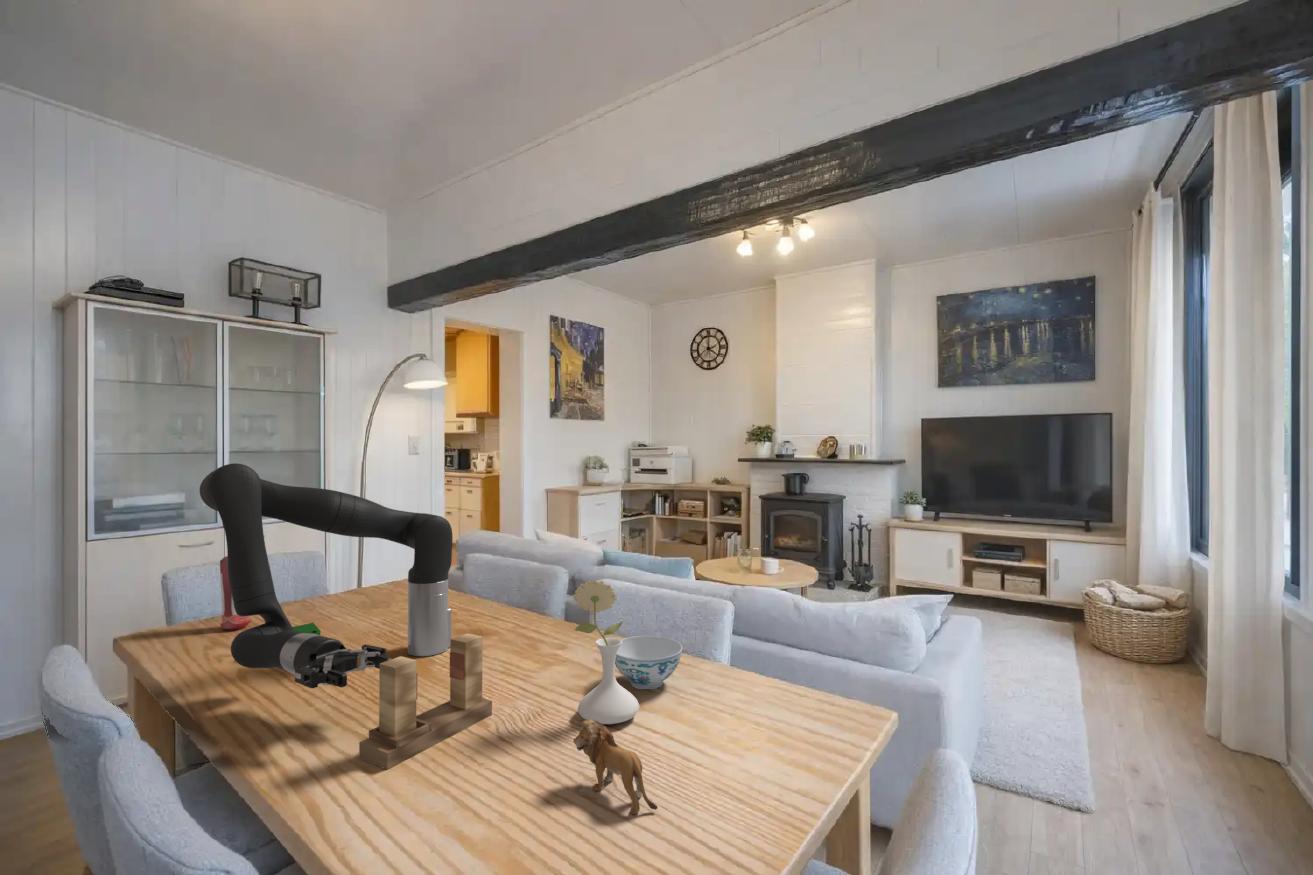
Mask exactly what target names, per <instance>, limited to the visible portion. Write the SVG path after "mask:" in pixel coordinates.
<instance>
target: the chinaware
mask: <svg viewBox="0 0 1313 875" xmlns="http://www.w3.org/2000/svg"><path fill="white" fill-rule="evenodd" d="M620 640H622V644H621V645H620V646H619V648H618V651H617V654H616V659H615V668H617V670H618V671H619V673H620V674H621V675H622V676H623V677H624V678H625V679H626V680H628V681H629V682H630V684H631V687H633V688H634V687H635V689H638V690H642V689H651V690H656V689H658V687H659V688H661V687H662V686H663V684H664V683H663V682H664V681H665V680H666V679H668V678H670V676H671V675H673V673H674V672H675V671H676V669H677V668H678V665H679V663H680V660H681V658H682V652H683V645H682V644H681V643H680V642H679V641H677V640H675V639H674V638H673V639H672V638H669V637H667V636H666V637H664V636H658V635H639V636H638V635H637V636H636V635H635V636H629V637H625V638H622V639H620ZM661 685H662V686H661Z"/></svg>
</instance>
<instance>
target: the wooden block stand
mask: <svg viewBox="0 0 1313 875" xmlns="http://www.w3.org/2000/svg"><path fill="white" fill-rule="evenodd" d="M449 649H450V650H449V651H450V652H449V678H450V679H449V680H450V682H449V683H450V684H449V686H450V687H449V688H450V689H449V691H450V692H449V700H448V701H446V702H444V703H441V704H440V705H438V706H435V707H433V708H431V709H428V710H426V711H424V712H422V713H420V714H416V729H415V730H413V731H411V732H409V733H407V734H405V735H403V736H401V737H399V738H395V737H392V736H389V735H386V734H384V733H381V732H379V725H378V726H376V727H374V728H372V729H370V730H368V737H367V738H365V739H364V740H361V741H359V742H358V744H359V745H358V746H359V749H358V750H359V752H358V753H359V754H358V755H359V756H358V757H359V759H361V760H363V761H366V762H368V763H370V764H373V765H376V766H378V767H380V768H383V769H384V770H389V769H391V768H394V767H395V766H398V765H400V764H401V763H402V762H404V761H407V760H409V759H411V758H412V757H414V756H417V755H418V754H420V753H422V752H424V751H426V750H428V749H429V748H431V747H433V746H435V745H437V744H439V743H441V742H443V741H444V740H446V739H449V738H450V737H452V736H454V735H456V734H458V733H460V732H462V731H464V730H465V729H468V728H469V727H471V726H473V725H474V724H477V723H479V722H481V721H482V720H484V719H486V718H488V717H490V716H491V715H493V700H490V699H486V698H483V635H482V636H481V635H477V634H472V633H467V632H466V633H464V634H461V635H458V636H455V637H453V638H452V637H451V639H450V647H449Z"/></svg>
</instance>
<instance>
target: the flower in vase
mask: <svg viewBox="0 0 1313 875" xmlns="http://www.w3.org/2000/svg"><path fill="white" fill-rule="evenodd" d="M572 597H573V599H574V602H575V603H576V604H577V606H578V607H579V608H580V609H582V610H584V611H588V610H589V611H588V612H590V613H593V622H594V624H592V623H590V622H587V621H586V622H581V623H579V624H578V625H577V626H576V628H575V629H574V631H576V632H582V633H585V634H592V633H593V632H595V630H597V632H598V633H599V635H600V637H602V638H598V639H597V640H595V642H594V643H595V645H596V646H597V648H598V650H599V653H600V655H601V661H602V662H601V663H602V675H601V676H602V677H601V680H600V682H599V683H598V685H596V687H595V688H593V689H592V690H590V691H589V692H588V693H587V694H586V695H585V696H583V698H582V699H581V700H580V701H579V704H578V707H577V712H578V714H579V715H580V716H581V718H582V719H584V721H586V720H590V719H592V720H595V721H598V722H599V723H601V724H603V725H615V724H620V723H623V722H627V721H629V720H631V719H632V718H635V716H636V715H637V713H638V712H639V711H640V704H639V701H638V699H637V698H636V697H635V696H634V695H633V693H631V692H630V691H628V690H627V689H626V688H624V686H622V685H620V684H619V683H618V681H617V678H616V672H615V671H616V670H615V668H616V665H615V659H616V654H617V651H618V648H619V646H620V645H621V644H622V640H621V639H620V638H618V637H605V636H608V635H612V634H614V633H615V632H617V631H619V629H620V628H621V627H622V624H623V621H621V622H619V623H616V624H612V625H610V626H608V627H607V628H606V630H605V631H604V633H602V631H601V630H600V628H599V626H598V625H597V620H596V616H597V613H601V612H605V611H607V610H609V609H612V608H613V605H614V604H615V603H616V602H615V601H617V599H618V598H617V594H616V593H615V589H614V588H613V587H612V585H611V584H605V583H604V580H598V581H597V580H596V579H593V580H592V581H590V580H586V581H585V583H580V584H579V585H578V586H577V587H576V589H575V591H574V594H573V595H572Z"/></svg>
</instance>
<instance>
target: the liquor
mask: <svg viewBox="0 0 1313 875" xmlns="http://www.w3.org/2000/svg"><path fill="white" fill-rule="evenodd" d="M219 569H220V570H219V571H220V578H219V579H220V591H221V592H220V593H221V616H222V617H221V620H222V621H221V623H220V625H219V626H220V628H222V629H224V631H227V632H229V631H240V630H243V629H245V628H246V627H247V626H248V625H249V624H250V623H251V620H250V616H239V615H237V613H236V611H235V608H234V602H233V599H232V594H231V589H230V584H229V577H228V555H226V556H224V557H223V558H221V560H219Z"/></svg>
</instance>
